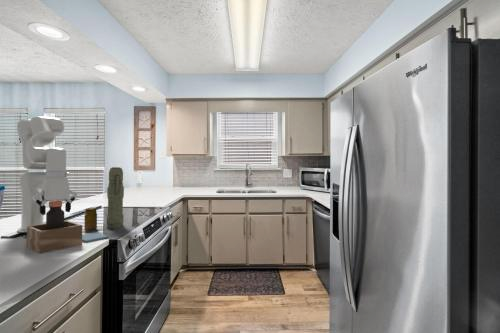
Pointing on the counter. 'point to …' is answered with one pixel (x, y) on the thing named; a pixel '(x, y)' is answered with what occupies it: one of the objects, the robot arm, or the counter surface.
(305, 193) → the counter surface
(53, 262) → the counter surface
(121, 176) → the thermos
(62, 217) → the vinegar
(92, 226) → the condiment
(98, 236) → the mat
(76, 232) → the crate
